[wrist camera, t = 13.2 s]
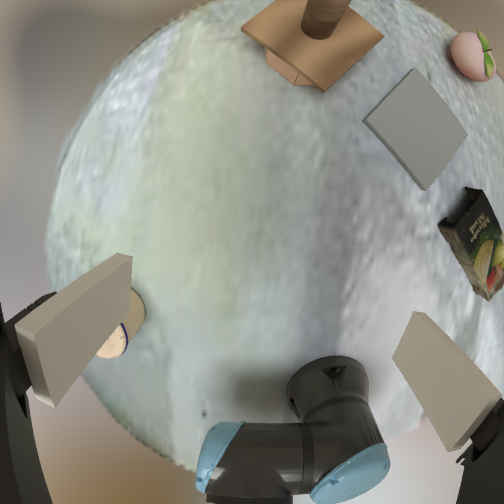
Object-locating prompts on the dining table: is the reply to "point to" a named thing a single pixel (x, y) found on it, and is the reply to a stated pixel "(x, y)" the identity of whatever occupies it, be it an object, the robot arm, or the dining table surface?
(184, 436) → the dining table surface
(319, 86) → the lid
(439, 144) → the mat
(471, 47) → the decorative fruit
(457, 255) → the juice carton
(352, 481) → the robot arm
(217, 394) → the dining table surface
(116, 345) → the teacup with lid
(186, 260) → the dining table surface
